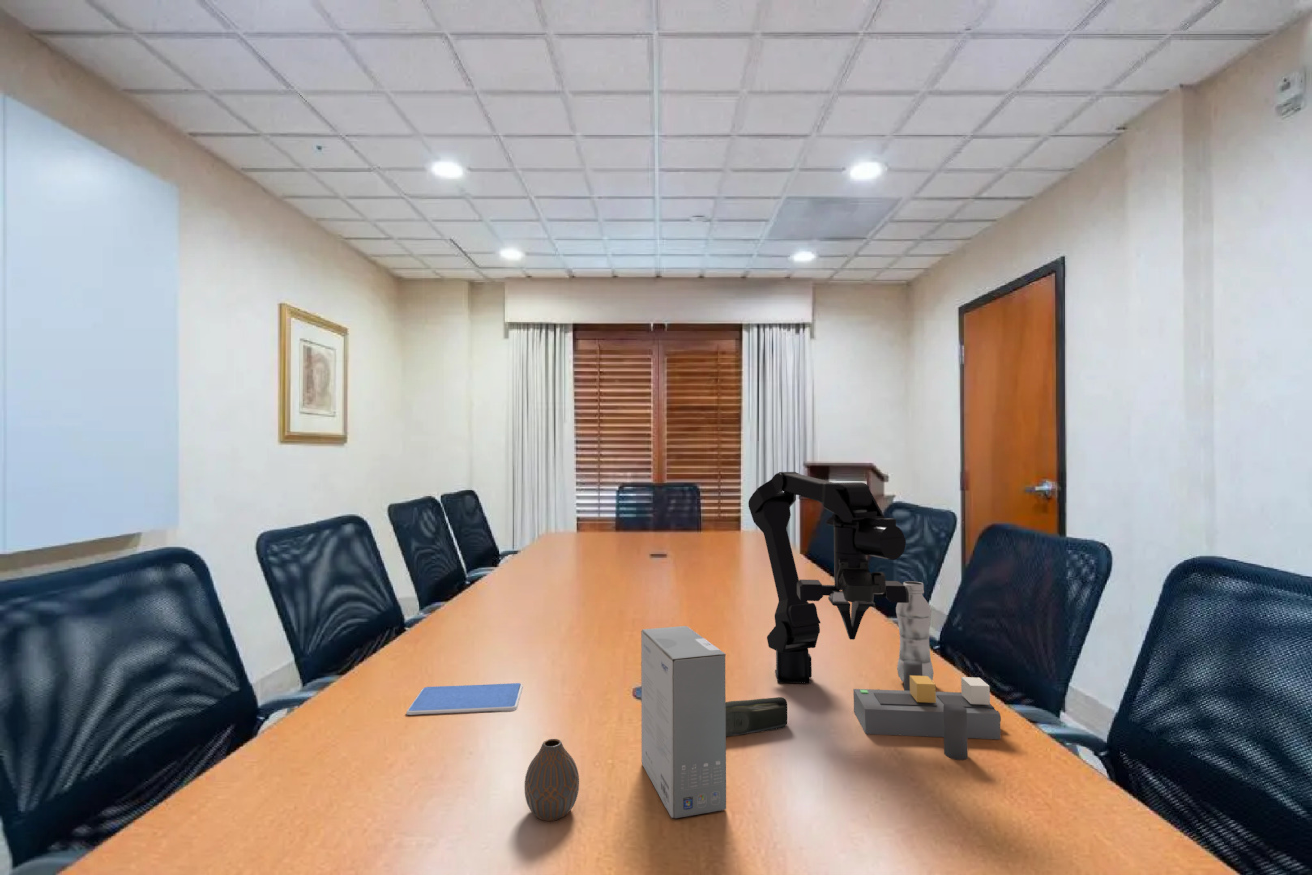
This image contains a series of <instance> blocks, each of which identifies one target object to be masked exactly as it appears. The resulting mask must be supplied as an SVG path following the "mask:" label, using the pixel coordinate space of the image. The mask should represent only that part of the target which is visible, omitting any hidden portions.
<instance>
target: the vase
mask: <svg viewBox="0 0 1312 875" xmlns="http://www.w3.org/2000/svg"><path fill="white" fill-rule="evenodd" d="M579 790H580V775H579V771H578V767H577V764H576V762H575V760H574V759H573V757H572V756H571V755H570V753H569V752H568V750H567V749H565V747H564V744H563V742H562V741H561V739H558V738H549V739H546V740H545V741H543V742H542V744H541V746H540V749H539V751H538V752H537V753H536V754H535V755H534V757H533V759H532V760H531V761H530V762H529V766H528V767H527V771H526V774H525V779H524V797H525V801H526V804H527V806H528V807H527V808H528V809H529V811H530V812H531V813H532V814H533V815H534V816H535V817H536V818H538V819H540V820H541V821H546V822H549V821H550V822H551V821H552V822H553V821H557V820H560V819H562V818H564V817H566V815H568V813H569V812H571V810H572V809H573V807H574V806H575V803H576V801H577V799H578V794H579Z"/></svg>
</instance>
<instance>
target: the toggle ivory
mask: <svg viewBox="0 0 1312 875" xmlns="http://www.w3.org/2000/svg"><path fill="white" fill-rule="evenodd" d="M960 679H961V680H960V683H961V684H960V686H961V687H960V688H961V692H962V696H963V697H964V698H965V699H966V700H967V701H968V702H969V703H970V704H985V705H990V704H991V690H990V685H989V684H988V683H987V682H985V681H984V680H983V679H982V678H981V677H972V676H971V677H970V676H969V677H968V676H965V677H964V676H961V677H960Z"/></svg>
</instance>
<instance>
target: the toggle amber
mask: <svg viewBox="0 0 1312 875" xmlns="http://www.w3.org/2000/svg"><path fill="white" fill-rule="evenodd" d="M936 690H937V688H936V683H935V681H933V680H931V679H930V678H929V677H928V676H911V675H910V694H911V695H912V696H913V698H914V699H915V700H916V701H917V702H929V703H936V692H937V691H936Z"/></svg>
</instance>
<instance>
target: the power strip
mask: <svg viewBox="0 0 1312 875" xmlns="http://www.w3.org/2000/svg"><path fill="white" fill-rule="evenodd" d="M946 704H956V705H960V706H963V707H965V708H966V709H967V739H977V740H978V739H980V740H981V739H982V740H1001V721H1002V718H1001V713H1000V712H999V710H996V709H995V707H994V706H993V705H992V704H991V703H990V705H985V704H970V703H969V702H968V701H967V700H966V699H965V698H964V697H963V696H962V691H961V692H960V691H959V692H958V691H955V692H954V691H936V703H929V702H917V701H916V700H915V699H914V698H913V696H912V695H911V694H910V691H904V689H903V690H900V689H899V690H898V689H897V690H896V689H895V690H894V689H868V688H853V713H854V715H855V716H856V718H857V720H858V723H859V724H860V727H861V729H862V730H863V732H864V734H866V735H884V736H887V735H888V736H907V737H909V736H910V737H912V736H913V737H935V738H944V712H943V706H944V705H946Z"/></svg>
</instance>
